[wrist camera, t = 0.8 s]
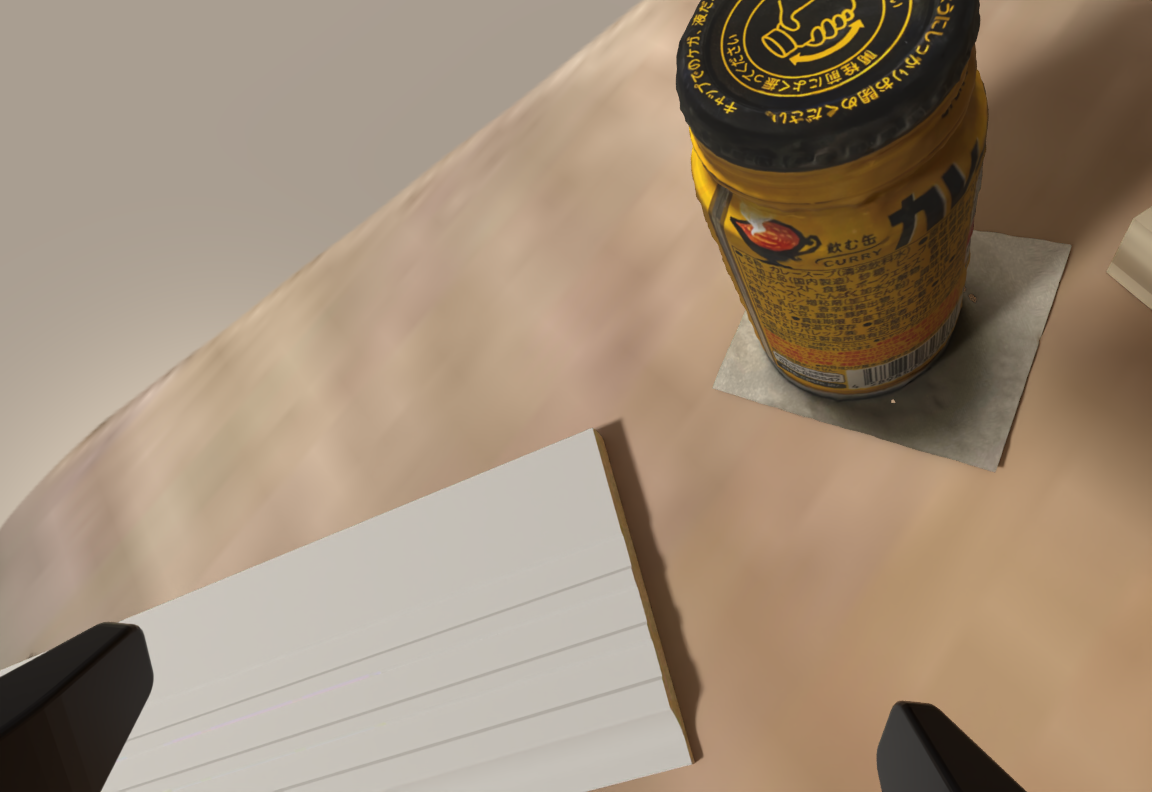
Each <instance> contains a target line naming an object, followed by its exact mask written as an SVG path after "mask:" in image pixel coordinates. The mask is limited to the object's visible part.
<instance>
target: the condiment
mask: <svg viewBox="0 0 1152 792" xmlns="http://www.w3.org/2000/svg"><path fill="white" fill-rule="evenodd" d="M979 7H980V3H979V0H701V1H700V3H699V4H698V6H697V8H696V10H695V13H694V15H693V16H692V18H691V20H690V22H689V24H688V26H687V28H686V30H685V32H684V34H683V36H682V38H681V40H680V42H679V48H678V52H677V73H676V90H677V93H678V96H679V100H680V110H681V111H682V113H683V114H684V116H685V121H686V122H687V124H688V125H689V132H690V137H691V141H692V145H693V148H692V155H691V171H692V177H693V180H694V184H695V190H696V197H697V199H698V200H699V202H700V203H701V205H702V209H703V213H704V217H705V220H706V222H707V223H708V228H709V229H710V232H711V235H712V237H713V238H714V240H715V241H716V242H717V244H718V246H719V250H720V252H721V255H722V260H723V262H724V264H725V266H726V270H727V272H728V274H729V275H730V276H731V279H732V281H733V283H734V286H735V289H736V291H737V292H738V294H739V297H740V301H741V303H742V304H743V306H744V307H745V309H746V310H745V312H744V315H743V318H742V320H741V322H740V325H739V327H738V329H737V332H736V334H735V336H734V338H733V340H732V342H731V345H730V347H729V349H728V351H727V354H726V356H725V358H724V361H723V363H722V365H721V368H720V370H719V372H718V375H717V377H716V380H715V382H714V385H713V387H712V388H713V389H716V390H720V391H723V392H726V393H730V394H733V395H736V396H739V397H742V398H746V399H749V400H752V401H755V402H758V403H761V404H765V405H768V406H772V407H776V408H779V409H782V410H785V411H788V412H791V413H794V414H798V415H801V416H804V417H808V418H813V419H815V420H818V421H821V422H824V423H828V424H832V425H836V426H839V427H842V428H845V429H849V430H853V431H858V432H862V433H865V434H869V435H872V436H875V437H877V438H880V439H883V440H886V441H890V442H893V443H897V444H900V445H903V446H906V447H909V448H913V449H916V450H918V451H922V452H926V453H930V454H933V455H937V456H941V457H945V458H949V459H953V460H956V461H960V462H963V463H966V464H969V465H972V466H975V467H979V468H982V469H985V470H989V471H992V472H996V469H997V466H998V463H999V460H1000V457H1001V455H1002V451H1003V447H1004V445H1005V442H1006V439H1007V436H1008V433H1009V430H1010V427H1011V424H1012V421H1013V418H1014V415H1015V412H1016V409H1017V406H1018V403H1019V400H1020V397H1021V395H1022V392H1023V389H1024V385H1025V383H1026V379H1027V376H1028V373H1029V371H1030V368H1031V365H1032V362H1033V359H1034V356H1035V353H1036V350H1037V347H1038V344H1039V339H1040V338H1041V336H1042V332H1043V329H1044V326H1045V323H1046V320H1047V317H1048V313H1049V311H1050V309H1051V306H1052V303H1053V300H1054V297H1055V294H1056V291H1057V288H1058V285H1059V281H1060V279H1061V276H1062V273H1063V270H1064V267H1065V264H1066V261H1067V258H1068V255H1069V252H1070V249H1071V246H1072V245H1069V244H1063V243H1055V242H1050V241H1046V240H1040V239H1033V238H1022V237H1015V236H1009V235H1006V234H1002V233H996V232H982V231H976V230H973V227H974V216H975V212H976V204H977V197H978V192H979V191H980V188H981V180H982V166H983V159H984V156H985V152H986V135H987V127H988V105H987V98H986V92H985V87H984V84H983V82H982V80H981V77H980V73H979V71H978V70H977V60H976V48H975V42H976V39H977V36H978V32H979V27H980V14H979ZM964 286H965V288H966V291H965V292H963V291H964ZM969 294H973V295H974V296H975V297H976V298H977V301H976V303H974V302H972V301H971V300H970V299H969V296H968V295H969ZM892 399H894V400H895V402H896V403H891V400H892Z"/></svg>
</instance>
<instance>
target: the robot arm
mask: <svg viewBox="0 0 1152 792" xmlns="http://www.w3.org/2000/svg"><path fill="white" fill-rule="evenodd" d="M153 682H154V673H153V668H152V664H151V660H150V656H149V652H148V648H147V643H146V639H145V635H144V632H143V630H142V629H141V628H140V627H139V626H138V625H135V624H127V623H117V622H103V623H100V624H98V625H96V626H94V627H92V628H90V629H88V630H86V631H84V632H82V633H81V634H79V635H77V636H75V637H73V638H71V639H69V640H68V641H66V642H64V643H62V644H60V645H58V646H56V647H55V648H53V649H51V650H49V651H47V652H45V653H43V654H42V655H40V656H38V657H36V658H34V659H32V660H30V661H29V662H27V663H25V664H23V665H21V666H19V667H17V668H16V669H14V670H12V671H10V672H8V673H6V674H4V675H3V676H1V677H0V792H101V791H102V789H103V787H104V785H105V783H106V781H107V779H108V777H109V775H110V773H111V771H112V769H113V767H114V765H115V763H116V761H117V759H118V757H119V755H120V753H121V751H122V749H123V747H124V745H125V743H126V741H127V739H128V737H129V735H130V733H131V731H132V729H133V727H134V726H135V724H136V722H137V720H138V718H139V716H140V714H141V712H142V710H143V708H144V706H145V704H146V702H147V700H148V698H149V696H150V693H151V690H152V687H153ZM877 770H878V775H879V780H880V785H881V789H882V792H1027V791H1025V790H1024V789H1023V788H1022V787H1021V786H1020V785H1019V784H1018V783H1017V782H1016V781H1015V780H1014V779H1013V778H1012V777H1011V776H1010V775H1009V774H1007V773H1006V772H1005V771H1004V770H1003V769H1002V768H1001V767H1000V766H999V765H998V764H997V763H996V762H995V761H994V760H993V759H992V758H991V757H989V756H988V755H987V754H986V753H985V752H984V751H983V750H982V749H981V748H980V747H979V746H978V745H977V744H976V743H975V742H974V741H973V740H972V739H970V738H969V737H968V736H967V735H966V734H965V733H964V732H963V731H962V730H961V729H960V728H959V727H958V726H957V725H956V724H955V723H954V722H952V721H951V720H950V719H949V718H948V717H947V716H946V715H945V714H944V713H943V712H942V711H941V710H940V709H938V708H937V707H936V706H934V705H932V704H929V703H920V702H910V701H898V702H897V703H896V704H894V706H893V707H892V709H891V712H890V715H889V718H888V720H887V723H886V726H885V729H884V731H883V734H882V737H881V740H880V742H879V745H878V749H877Z"/></svg>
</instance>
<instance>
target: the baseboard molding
mask: <svg viewBox="0 0 1152 792" xmlns="http://www.w3.org/2000/svg"><path fill="white" fill-rule="evenodd" d="M117 623H127V624H135V625H138V626H139V627H140V628H141V629H142V630H143V632H144V635H145V639H146V643H147V648H148V652H149V656H150V660H151V664H152V668H153V673H154V682H153V687H152V690H151V693H150V696H149V698H148V700H147V702H146V704H145V706H144V708H143V710H142V712H141V714H140V716H139V718H138V720H137V722H136V724H135V726H134V727H133V729H132V731H131V733H130V735H129V737H128V739H127V741H126V743H125V745H124V747H123V749H122V751H121V753H120V755H119V757H118V759H117V761H116V763H115V765H114V767H113V769H112V771H111V773H110V775H109V777H108V779H107V781H106V783H105V785H104V787H103V789H102V791H101V792H587V791H591V790H594V789H598V788H602V787H606V786H610V785H614V784H618V783H622V782H626V781H629V780H633V779H637V778H641V777H645V776H649V775H653V774H657V773H660V772H664V771H668V770H672V769H676V768H680V767H684V766H688V765H692V764H694V763H695V761H694V758H693V754H692V751H691V747H690V744H689V740H688V737H687V733H686V730H685V726H684V723H683V719H682V716H681V712H680V709H679V705H678V701H677V698H676V694H675V691H674V687H673V684H672V680H671V677H670V673H669V670H668V666H667V663H666V659H665V656H664V652H663V649H662V645H661V641H660V638H659V634H658V631H657V627H656V624H655V620H654V617H653V613H652V610H651V606H650V603H649V599H648V596H647V592H646V589H645V585H644V581H643V578H642V574H641V571H640V567H639V564H638V560H637V557H636V553H635V550H634V546H633V543H632V539H631V536H630V532H629V529H628V525H627V521H626V518H625V514H624V511H623V507H622V504H621V500H620V497H619V493H618V490H617V486H616V483H615V479H614V476H613V472H612V469H611V465H610V461H609V458H608V454H607V451H606V447H605V444H604V440H603V438H602V437H601V435H600V434H599V433H598V432H597V431H596V430H595V429H593V428H591V429H588V430H586V431H583V432H581V433H578V434H576V435H574V436H571V437H569V438H566V439H564V440H561V441H559V442H556V443H554V444H552V445H549V446H547V447H544V448H542V449H539V450H537V451H534V452H532V453H530V454H527V455H525V456H522V457H520V458H517V459H515V460H513V461H510V462H508V463H505V464H503V465H500V466H498V467H495V468H493V469H491V470H488V471H486V472H483V473H481V474H478V475H476V476H473V477H471V478H469V479H466V480H464V481H461V482H459V483H456V484H454V485H452V486H449V487H447V488H444V489H442V490H439V491H437V492H434V493H432V494H430V495H427V496H425V497H422V498H420V499H417V500H415V501H412V502H410V503H408V504H405V505H403V506H400V507H398V508H395V509H393V510H390V511H388V512H386V513H383V514H381V515H378V516H376V517H373V518H371V519H369V520H366V521H364V522H361V523H359V524H356V525H354V526H351V527H349V528H347V529H344V530H342V531H339V532H337V533H334V534H332V535H329V536H327V537H325V538H322V539H320V540H317V541H315V542H312V543H310V544H308V545H305V546H303V547H300V548H298V549H295V550H293V551H290V552H288V553H286V554H283V555H281V556H278V557H276V558H273V559H271V560H268V561H266V562H264V563H261V564H259V565H256V566H254V567H251V568H249V569H246V570H244V571H242V572H239V573H237V574H234V575H232V576H229V577H227V578H225V579H222V580H220V581H217V582H215V583H212V584H210V585H207V586H205V587H203V588H200V589H198V590H195V591H193V592H190V593H188V594H185V595H183V596H181V597H178V598H176V599H173V600H171V601H168V602H166V603H164V604H161V605H159V606H156V607H154V608H151V609H149V610H146V611H144V612H142V613H139V614H137V615H134V616H132V617H129V618H127V619H124V620H122V621H120V622H117ZM46 652H47V651H46ZM44 653H45V652H44ZM42 654H43V653H41V654H39V655H37V656H34V657H32V658H29V659H27V660H24V661H22V662H20V663H17V664H15V665H12V666H10V667H7V668H5V669H2V670H0V677H1V676H3V675H4V674H6V673H8V672H10V671H12V670H14V669H16V668H17V667H19V666H21V665H23V664H25V663H27V662H29V661H30V660H32V659H34V658H36V657H38V656H40V655H42Z"/></svg>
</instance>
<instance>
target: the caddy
mask: <svg viewBox="0 0 1152 792" xmlns="http://www.w3.org/2000/svg"><path fill="white" fill-rule="evenodd" d="M1106 272H1107V273H1108V274H1109V275H1110V276H1111V277H1113V278H1114V279H1115V280H1116V281H1118V282H1119V283H1120V284H1121V285H1122V286H1124V287H1125V288H1126V289H1127V290H1128V291H1130V292H1131V293H1132V294H1133V295H1134V296H1136V297H1137V298H1138V299H1139V300H1140V301H1142V302H1143V303H1144V304H1145V305H1146V306H1148V307H1149V308H1150V309H1151V310H1152V207H1150V208H1148V209H1147V210H1145V211H1144V212H1142V213H1141V214H1139V215H1138V216H1136V217H1135V218H1133V220H1132V222H1131V224H1130V226H1129V228H1128V230H1127V232H1126V234H1125V236H1124V238H1123V240H1122V242H1121V244H1120V246H1119V248H1118V250H1117V252H1116V254H1115V256H1114V258H1113V260H1112V262H1111V264H1110V266H1109V267H1108V269H1107V271H1106Z"/></svg>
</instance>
